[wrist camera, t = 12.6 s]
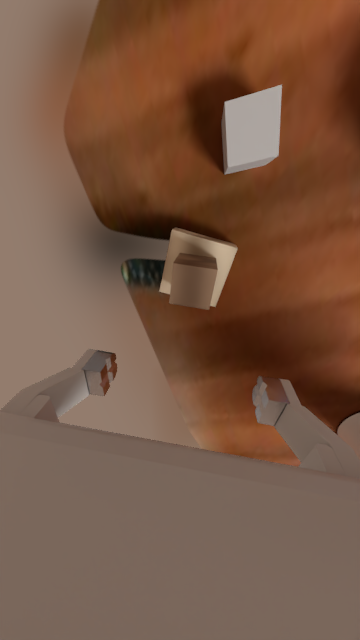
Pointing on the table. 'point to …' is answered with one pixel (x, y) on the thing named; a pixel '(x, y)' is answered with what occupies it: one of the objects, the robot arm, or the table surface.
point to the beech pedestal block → (203, 247)
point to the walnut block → (193, 280)
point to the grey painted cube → (251, 130)
